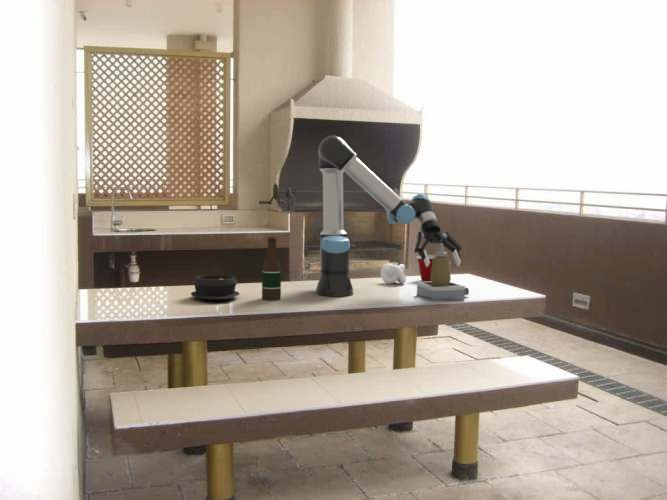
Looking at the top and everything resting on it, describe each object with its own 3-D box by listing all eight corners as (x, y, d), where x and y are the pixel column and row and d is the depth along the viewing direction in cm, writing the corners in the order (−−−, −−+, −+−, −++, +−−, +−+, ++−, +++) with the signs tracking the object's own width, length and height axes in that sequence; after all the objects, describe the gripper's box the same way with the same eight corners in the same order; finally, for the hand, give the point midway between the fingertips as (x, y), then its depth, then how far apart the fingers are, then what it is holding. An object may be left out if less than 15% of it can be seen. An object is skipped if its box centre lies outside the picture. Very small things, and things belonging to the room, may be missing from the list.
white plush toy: (381, 284, 307) (382, 265, 306) (379, 281, 319) (379, 262, 318) (406, 285, 307) (407, 265, 306) (403, 281, 319) (403, 262, 318)
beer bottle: (265, 301, 257) (266, 238, 254) (258, 297, 264) (258, 236, 261) (284, 299, 260) (285, 237, 258) (276, 296, 267) (277, 236, 265)
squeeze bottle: (450, 289, 269) (451, 244, 267) (429, 288, 270) (430, 243, 269) (450, 286, 277) (451, 242, 275) (430, 285, 278) (431, 242, 276)
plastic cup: (412, 279, 328) (413, 254, 327) (433, 278, 331) (433, 254, 330) (420, 282, 318) (421, 256, 316) (442, 281, 320) (442, 256, 319)
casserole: (243, 303, 251) (243, 281, 250) (192, 304, 246) (192, 281, 245) (235, 293, 275) (235, 272, 274) (189, 294, 270) (188, 273, 270)
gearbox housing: (432, 300, 265) (432, 287, 264) (416, 294, 279) (417, 281, 278) (475, 299, 270) (476, 285, 270) (458, 293, 284) (458, 280, 284)
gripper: (453, 230, 290) (468, 269, 277) (399, 230, 283) (412, 270, 270) (459, 219, 284) (475, 258, 271) (404, 218, 277) (417, 258, 264)
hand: (443, 264), depth 270 cm, fingers open, 13 cm apart
